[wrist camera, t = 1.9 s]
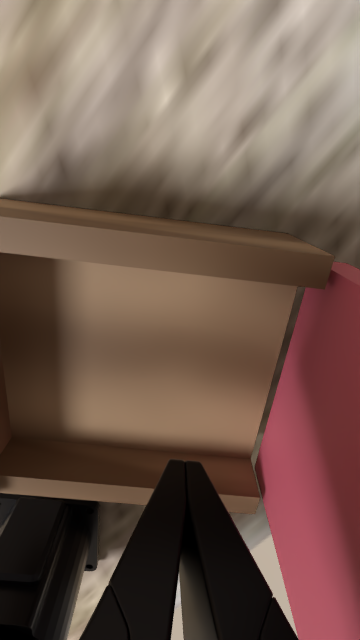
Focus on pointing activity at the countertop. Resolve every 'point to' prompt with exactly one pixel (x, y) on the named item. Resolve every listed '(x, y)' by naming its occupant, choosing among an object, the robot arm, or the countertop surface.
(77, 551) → the robot arm
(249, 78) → the countertop surface
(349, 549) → the panel
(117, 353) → the brown wooden drawer
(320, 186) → the countertop surface
